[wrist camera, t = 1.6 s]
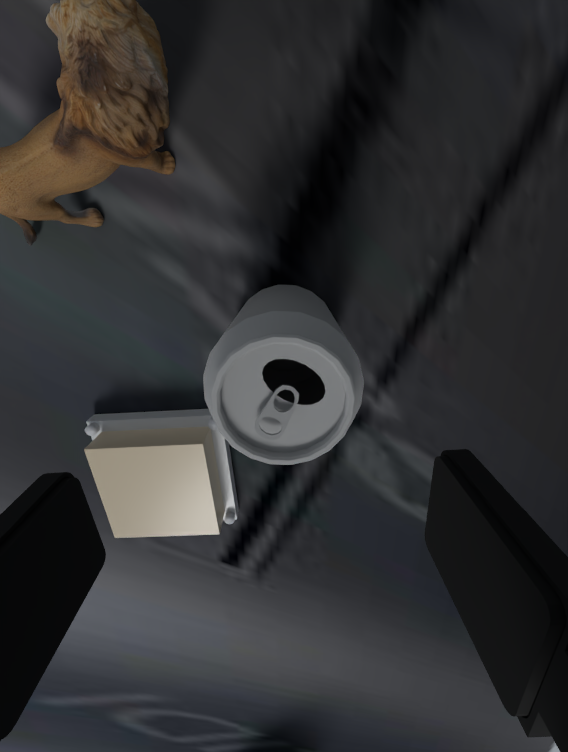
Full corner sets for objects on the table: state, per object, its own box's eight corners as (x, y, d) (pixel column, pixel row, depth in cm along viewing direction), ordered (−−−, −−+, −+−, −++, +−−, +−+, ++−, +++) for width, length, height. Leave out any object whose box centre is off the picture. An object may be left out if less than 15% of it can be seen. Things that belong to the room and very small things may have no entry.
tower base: (223, 407, 27) (214, 431, 24) (238, 509, 31) (232, 542, 28) (94, 414, 28) (66, 438, 24) (126, 514, 32) (106, 546, 28)
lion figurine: (162, 39, 18) (58, -129, 10) (223, 130, 20) (177, 51, 12) (4, 211, 22) (-171, 192, 14) (67, 278, 23) (-55, 297, 15)
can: (354, 314, 24) (410, 376, 13) (302, 394, 27) (313, 503, 16) (264, 262, 23) (241, 281, 12) (219, 352, 25) (166, 437, 14)
